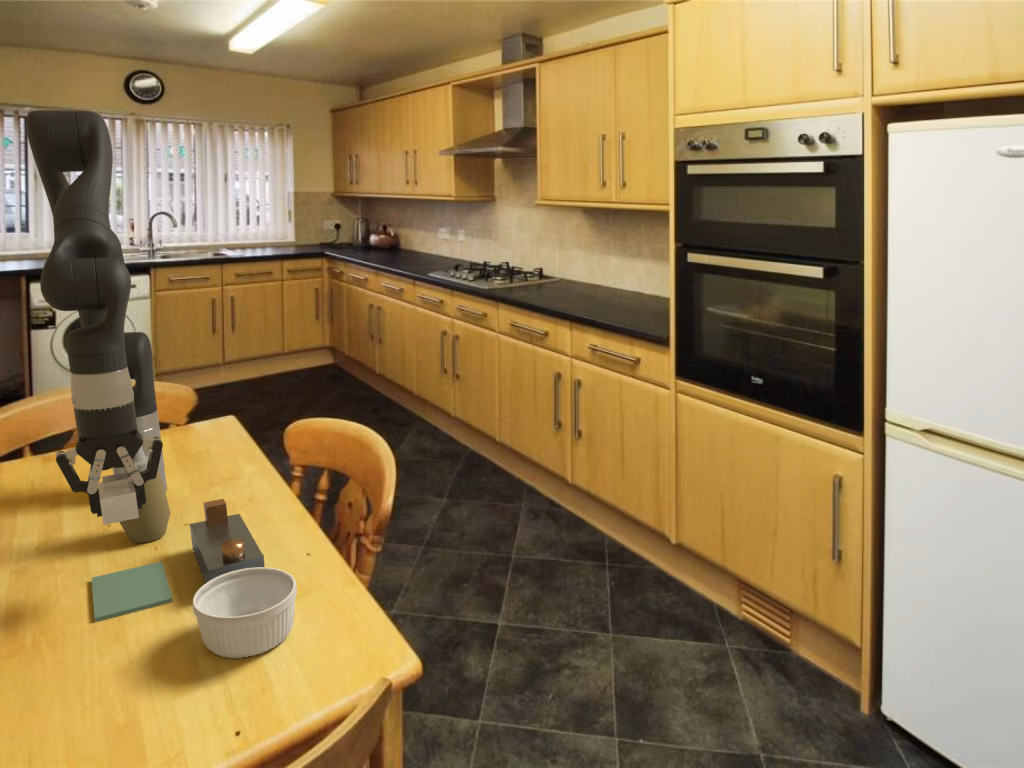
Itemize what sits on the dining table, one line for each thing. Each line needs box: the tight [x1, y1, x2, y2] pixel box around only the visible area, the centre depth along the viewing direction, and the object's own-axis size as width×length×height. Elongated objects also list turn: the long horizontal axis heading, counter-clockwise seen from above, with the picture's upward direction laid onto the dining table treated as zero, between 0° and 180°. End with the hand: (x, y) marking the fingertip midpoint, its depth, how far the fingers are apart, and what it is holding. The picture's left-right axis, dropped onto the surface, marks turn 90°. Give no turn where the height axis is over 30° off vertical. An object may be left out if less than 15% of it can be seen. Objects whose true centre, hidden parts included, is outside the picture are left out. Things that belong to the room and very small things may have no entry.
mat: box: [91, 560, 174, 623], centre depth 107 cm, size 13×10×1 cm
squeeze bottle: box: [119, 447, 171, 544], centre depth 122 cm, size 8×8×18 cm
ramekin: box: [192, 566, 298, 659], centre depth 95 cm, size 13×13×7 cm
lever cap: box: [97, 473, 139, 525], centre depth 103 cm, size 7×4×5 cm, turn 32°
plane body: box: [189, 498, 266, 584], centre depth 113 cm, size 18×8×9 cm, turn 32°
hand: (119, 510), depth 103 cm, fingers closed on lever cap, 4 cm apart
